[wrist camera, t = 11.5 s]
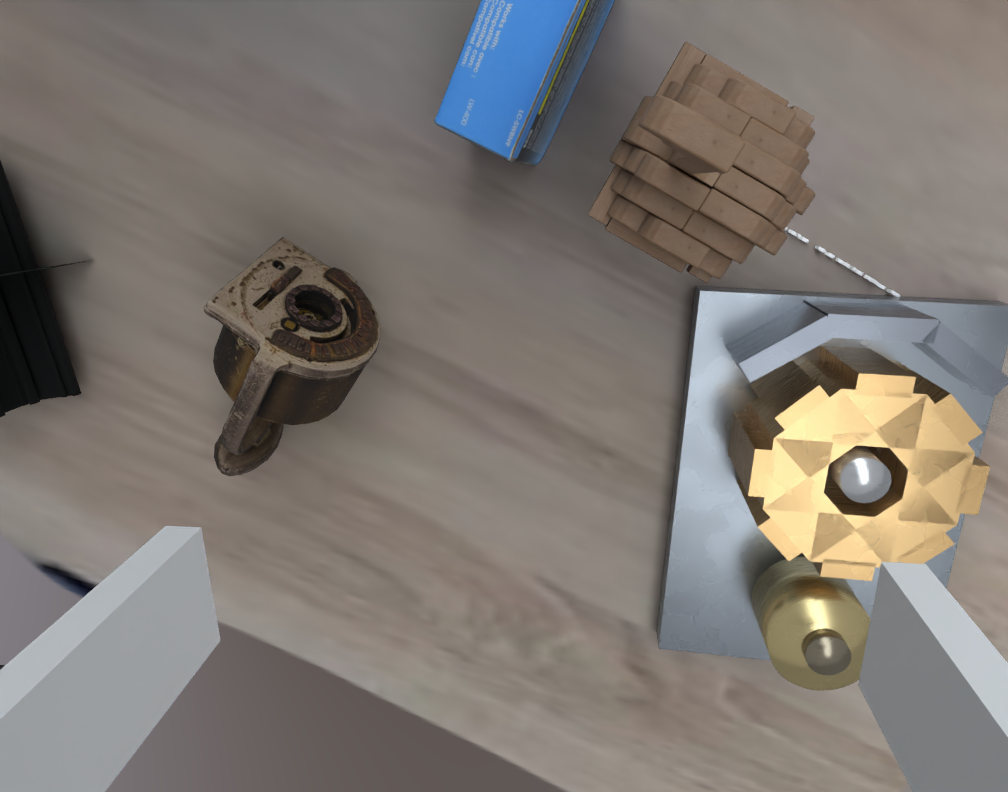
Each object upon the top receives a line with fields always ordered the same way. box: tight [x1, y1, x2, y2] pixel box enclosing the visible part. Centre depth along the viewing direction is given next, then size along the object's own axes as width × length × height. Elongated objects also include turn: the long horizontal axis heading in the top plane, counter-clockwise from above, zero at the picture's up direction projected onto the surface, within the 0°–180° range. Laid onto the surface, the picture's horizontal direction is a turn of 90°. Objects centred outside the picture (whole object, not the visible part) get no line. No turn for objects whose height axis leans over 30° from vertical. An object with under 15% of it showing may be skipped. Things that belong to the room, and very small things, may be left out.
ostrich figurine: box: [588, 42, 901, 297], centre depth 25 cm, size 17×7×18 cm, turn 61°
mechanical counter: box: [204, 237, 381, 476], centre depth 33 cm, size 7×13×10 cm, turn 160°
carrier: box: [657, 286, 1008, 690], centre depth 34 cm, size 20×14×6 cm
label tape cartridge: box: [435, 0, 615, 165], centre depth 27 cm, size 9×4×12 cm, turn 155°
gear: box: [728, 346, 990, 581], centre depth 32 cm, size 9×9×5 cm
